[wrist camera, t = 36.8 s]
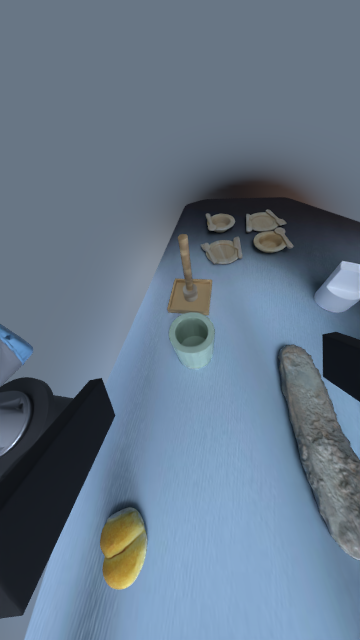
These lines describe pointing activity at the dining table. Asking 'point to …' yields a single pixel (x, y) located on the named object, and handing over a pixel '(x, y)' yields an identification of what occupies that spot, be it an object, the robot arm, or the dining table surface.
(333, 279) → the base with upright slab
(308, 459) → the elongated rock
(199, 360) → the green cylindrical container
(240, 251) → the tableware set
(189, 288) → the wooden pestle
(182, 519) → the dining table surface
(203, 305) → the tray
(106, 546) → the bread roll
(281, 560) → the dining table surface
